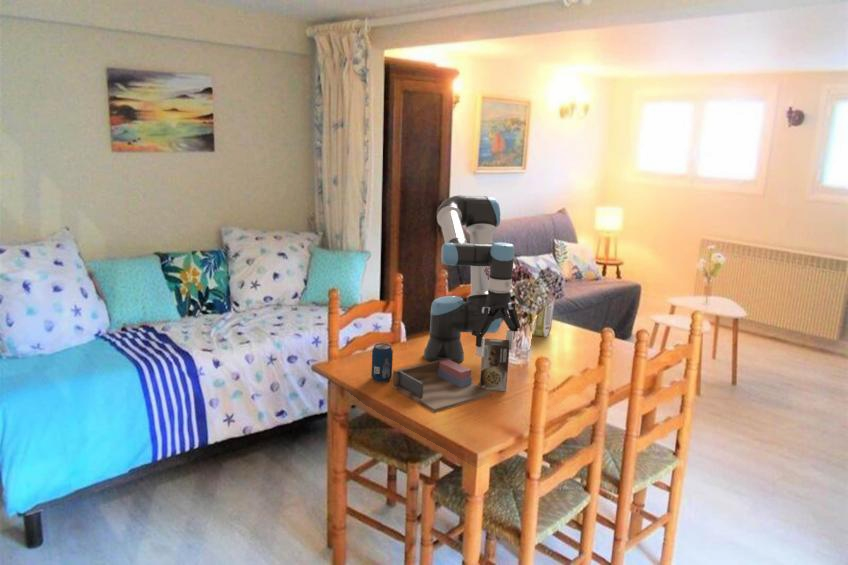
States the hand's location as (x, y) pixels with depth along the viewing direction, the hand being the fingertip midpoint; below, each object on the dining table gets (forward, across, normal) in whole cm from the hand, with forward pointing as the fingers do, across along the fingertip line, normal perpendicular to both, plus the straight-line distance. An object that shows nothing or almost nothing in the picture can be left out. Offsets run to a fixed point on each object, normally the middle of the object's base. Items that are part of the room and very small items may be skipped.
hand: (494, 352), depth 211 cm
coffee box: (+13, +1, 0) cm, 13 cm away
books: (+11, -8, +10) cm, 17 cm away
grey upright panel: (+12, -27, +10) cm, 31 cm away
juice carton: (+12, +60, +31) cm, 69 cm away
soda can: (+13, -28, +25) cm, 40 cm away
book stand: (+13, -17, +6) cm, 22 cm away
